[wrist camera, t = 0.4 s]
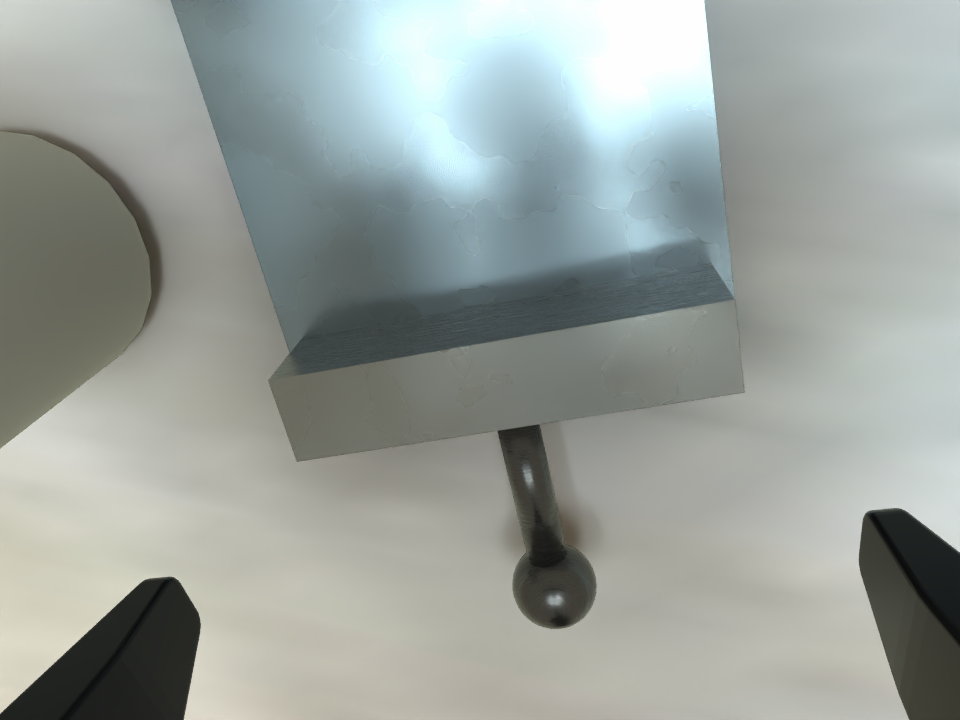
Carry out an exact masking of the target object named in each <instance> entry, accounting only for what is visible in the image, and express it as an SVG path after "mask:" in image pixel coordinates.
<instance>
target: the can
mask: <svg viewBox="0 0 960 720" xmlns="http://www.w3.org/2000/svg"><path fill="white" fill-rule="evenodd" d="M151 296H152V295H151V278H150V261H149V256H148V253H147V250H146V248H145V245H144V242H143V240H142V237H141V234H140V231H139V229H138V226H137V223H136V221H135V218H134V217H133V216H132V214H131V213H130V212H129V210H128V209H127V207H126V206H125V205H124V203H123V202H122V200H121V199H120V198H119V196H118V195H117V193H116V192H115V191H114V189H113V188H112V186H111V185H110V184H109V182H107V181H106V180H105V179H104V178H103V177H101V176H100V175H99V174H98V173H96V172H95V171H94V170H93V169H92V168H90V167H89V166H88V165H87V164H86V163H84V162H83V161H82V160H81V159H80V158H78V157H77V156H76V155H75V154H73V153H71V152H69V151H67V150H65V149H63V148H60V147H58V146H56V145H54V144H52V143H49V142H47V141H45V140H43V139H41V138H39V137H36V136H34V135H28V134H20V133H13V132H5V131H0V448H1V447H3V446H4V445H5V444H6V443H8V442H9V441H10V440H12V439H13V438H14V437H15V436H17V435H18V434H19V433H21V432H22V431H23V430H24V429H26V428H27V427H28V426H30V425H31V424H32V423H33V422H35V421H36V420H37V419H39V418H40V417H41V416H42V415H44V414H45V413H46V412H48V411H49V410H50V409H51V408H53V407H54V406H55V405H57V404H58V403H59V402H60V401H62V400H63V399H64V398H66V397H67V396H68V395H69V394H71V393H72V392H73V391H75V390H76V389H77V388H78V387H80V386H81V385H82V384H84V383H85V382H86V381H87V380H89V379H90V378H91V377H93V376H94V375H95V374H96V373H98V372H99V371H100V370H102V369H103V368H104V367H105V366H107V365H108V364H109V363H111V362H112V361H113V360H114V359H116V358H117V357H118V356H120V355H121V354H122V353H123V352H124V350H125V349H126V348H127V347H128V345H129V344H130V343H131V342H132V340H133V339H134V338H135V337H136V335H137V334H138V333H139V331H140V330H141V329H142V326H143V323H144V320H145V316H146V313H147V309H148V306H149V303H150V299H151Z"/></svg>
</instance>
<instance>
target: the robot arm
mask: <svg viewBox="0 0 960 720" xmlns="http://www.w3.org/2000/svg"><path fill="white" fill-rule="evenodd" d="M859 566H860V571H861V576H862V579H863V582H864V585H865V589H866V592H867V595H868V598H869V601H870V605H871V608H872V611H873V614H874V617H875V621H876V624H877V627H878V630H879V633H880V637H881V640H882V643H883V646H884V649H885V653H886V656H887V659H888V662H889V665H890V669H891V672H892V675H893V678H894V681H895V684H896V687H897V690H898V693H899V696H900V698H901V701H902V703H903V706H904V708H905V710H906V713H907V715H908V718H909V720H960V552H958V551H957V550H956V549H954V548H953V547H952V546H951V545H949V544H948V543H947V542H945V541H944V540H943V539H942V538H940V537H939V536H938V535H936V534H935V533H934V532H933V531H931V530H930V529H929V528H927V527H926V526H925V525H923V524H922V523H921V522H920V521H918V520H917V519H916V518H914V517H913V516H912V515H911V514H909V513H908V512H906V511H905V510H902V509H899V508H892V509H882V510H871V511H868V512H867V513H866V514H865V515H864V518H863V523H862V532H861V541H860V550H859ZM200 627H201V623H200V617H199V614H198V612H197V610H196V608H195V606H194V605H193V603H192V601H191V600H190V598H189V596H188V595H187V593H186V592H185V590H184V588H183V587H182V585H181V583H180V582H179V581H178V580H177V579H175V578H174V577H162V578H151V579H147V580H145V581H143V582H141V583H140V584H139V585H138V586H137V587H136V588H135V589H134V590H132V591H131V592H130V593H129V594H128V595H127V596H126V597H125V598H124V599H123V600H122V601H121V602H120V603H119V604H117V605H116V606H115V607H114V608H113V609H112V610H111V611H110V612H109V613H108V614H107V615H106V616H105V617H103V618H102V619H101V620H100V621H99V622H98V623H97V624H96V625H95V626H94V627H93V628H92V629H91V630H90V631H88V632H87V633H86V634H85V635H84V636H83V637H82V638H81V639H80V640H79V641H78V642H77V643H76V644H75V645H73V646H72V647H71V648H70V649H69V650H68V651H67V652H66V653H65V654H64V655H63V656H62V657H61V658H60V659H58V660H57V661H56V662H55V663H54V664H53V665H52V666H51V667H50V668H49V669H48V670H47V671H46V672H44V673H43V674H42V675H41V676H40V677H39V678H38V679H37V680H36V681H35V682H34V683H33V684H32V685H31V686H29V687H28V688H27V689H26V690H25V691H24V692H23V693H22V694H21V695H20V696H19V697H18V698H17V699H16V700H14V701H13V702H12V703H11V704H10V705H9V706H8V707H7V708H6V709H5V710H4V711H3V712H2V713H1V714H0V720H184V715H185V710H186V705H187V699H188V694H189V689H190V683H191V678H192V673H193V667H194V662H195V657H196V651H197V646H198V641H199V635H200Z"/></svg>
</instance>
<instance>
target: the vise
mask: <svg viewBox="0 0 960 720" xmlns="http://www.w3.org/2000/svg"><path fill="white" fill-rule="evenodd" d="M171 2H172V5H173V8H174V11H175V14H176V17H177V20H178V23H179V26H180V29H181V32H182V35H183V38H184V41H185V44H186V47H187V50H188V53H189V56H190V58H191V61H192V64H193V67H194V70H195V73H196V76H197V79H198V82H199V85H200V88H201V91H202V94H203V97H204V100H205V103H206V106H207V109H208V112H209V115H210V118H211V121H212V124H213V127H214V129H215V132H216V135H217V138H218V141H219V144H220V147H221V150H222V153H223V156H224V159H225V162H226V165H227V168H228V171H229V174H230V177H231V180H232V183H233V186H234V189H235V192H236V195H237V198H238V200H239V203H240V206H241V209H242V212H243V215H244V218H245V221H246V224H247V227H248V230H249V233H250V236H251V239H252V242H253V245H254V248H255V251H256V254H257V257H258V260H259V263H260V266H261V269H262V272H263V274H264V277H265V280H266V283H267V286H268V289H269V292H270V295H271V298H272V301H273V304H274V307H275V310H276V313H277V316H278V319H279V322H280V325H281V328H282V331H283V334H284V337H285V340H286V343H287V345H288V348H289V351H290V354H289V355H288V356H287V358H286V359H285V360H284V361H283V363H282V364H281V365H280V366H279V368H278V369H277V370H276V372H275V373H274V374H273V375H272V377H271V378H270V379H269V380H268V381H269V384H270V387H271V390H272V392H273V395H274V398H275V401H276V404H277V407H278V409H279V412H280V415H281V418H282V421H283V423H284V426H285V429H286V432H287V435H288V438H289V440H290V443H291V446H292V449H293V452H294V455H295V457H296V460H297V462H298V461H305V460H311V459H318V458H324V457H331V456H337V455H344V454H350V453H356V452H363V451H369V450H376V449H382V448H389V447H395V446H402V445H408V444H415V443H421V442H428V441H434V440H441V439H447V438H454V437H460V436H466V435H473V434H479V433H486V432H492V431H498V435H499V439H500V443H501V447H502V451H503V456H504V460H505V464H506V468H507V472H508V476H509V481H510V485H511V489H512V493H513V497H514V502H515V506H516V510H517V514H518V518H519V522H520V527H521V531H522V535H523V539H524V543H525V548H526V553H525V554H524V555H523V556H522V558H521V559H520V561H519V562H518V564H517V566H516V568H515V571H514V575H513V594H514V598H515V601H516V603H517V605H518V607H519V609H520V610H521V612H522V613H523V614H524V615H525V616H526V617H527V618H528V619H529V620H530V621H532V622H533V623H535V624H537V625H539V626H542V627H545V628H549V629H561V628H566V627H570V626H572V625H574V624H576V623H577V622H579V621H580V620H582V619H583V618H584V617H585V616H586V614H587V613H588V612H589V611H590V609H591V607H592V605H593V603H594V600H595V596H596V577H595V573H594V571H593V568H592V566H591V564H590V563H589V561H588V560H587V558H586V557H585V556H584V555H583V554H582V553H581V552H580V551H579V550H577V549H576V548H574V547H572V546H570V545H567V544H565V541H564V536H563V531H562V527H561V522H560V517H559V513H558V508H557V504H556V499H555V494H554V490H553V485H552V480H551V476H550V471H549V466H548V462H547V457H546V453H545V448H544V443H543V439H542V434H541V429H540V425H539V424H544V423H551V422H557V421H563V420H570V419H576V418H583V417H589V416H596V415H602V414H609V413H615V412H622V411H628V410H635V409H641V408H648V407H654V406H660V405H667V404H673V403H680V402H686V401H693V400H699V399H706V398H712V397H719V396H725V395H732V394H738V393H745V391H744V382H743V372H742V362H741V352H740V342H739V333H738V323H737V313H736V303H735V297H734V287H733V278H732V268H731V258H730V248H729V239H728V229H727V219H726V209H725V200H724V190H723V180H722V170H721V161H720V151H719V141H718V131H717V122H716V112H715V102H714V92H713V83H712V73H711V63H710V53H709V44H708V34H707V24H706V14H705V5H704V0H171Z"/></svg>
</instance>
